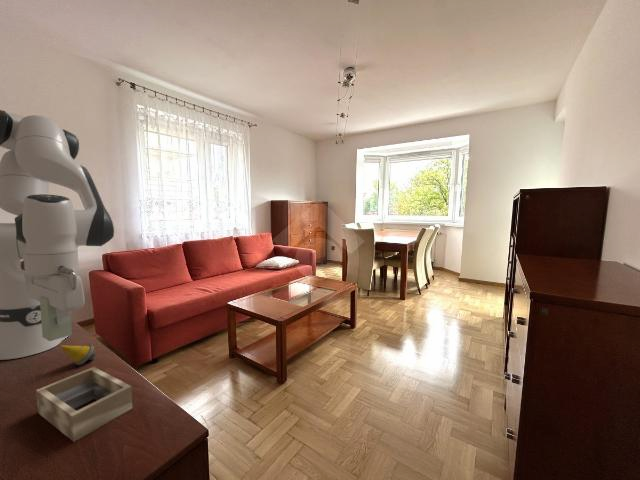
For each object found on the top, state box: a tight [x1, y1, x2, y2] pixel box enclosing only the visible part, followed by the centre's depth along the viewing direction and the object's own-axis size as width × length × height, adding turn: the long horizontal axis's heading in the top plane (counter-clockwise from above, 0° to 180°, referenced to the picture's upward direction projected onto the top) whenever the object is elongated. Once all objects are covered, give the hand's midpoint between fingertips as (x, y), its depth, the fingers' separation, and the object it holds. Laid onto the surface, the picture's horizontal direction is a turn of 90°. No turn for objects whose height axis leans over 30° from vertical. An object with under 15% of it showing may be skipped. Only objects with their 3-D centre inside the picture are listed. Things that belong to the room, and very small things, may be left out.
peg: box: [40, 296, 73, 341], centre depth 63 cm, size 4×4×10 cm
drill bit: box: [59, 344, 97, 366], centre depth 74 cm, size 5×5×10 cm
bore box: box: [35, 366, 133, 443], centre depth 57 cm, size 16×10×5 cm, turn 63°
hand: (56, 321), depth 64 cm, fingers closed on peg, 4 cm apart
